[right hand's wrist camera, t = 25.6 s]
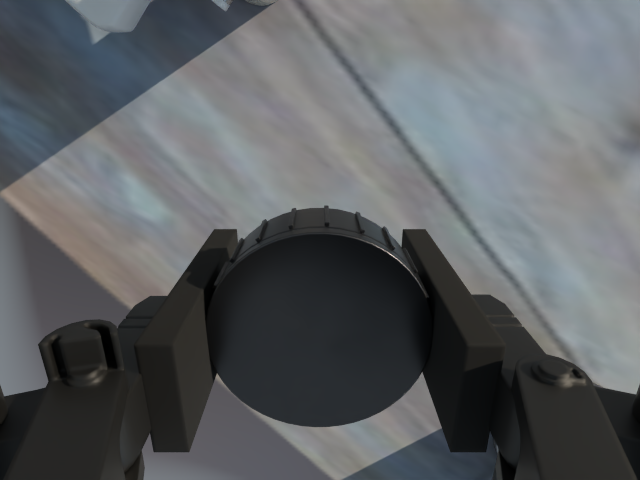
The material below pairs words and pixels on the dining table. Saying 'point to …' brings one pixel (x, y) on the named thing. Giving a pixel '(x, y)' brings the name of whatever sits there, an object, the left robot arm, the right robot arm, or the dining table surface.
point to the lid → (319, 319)
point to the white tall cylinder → (261, 2)
